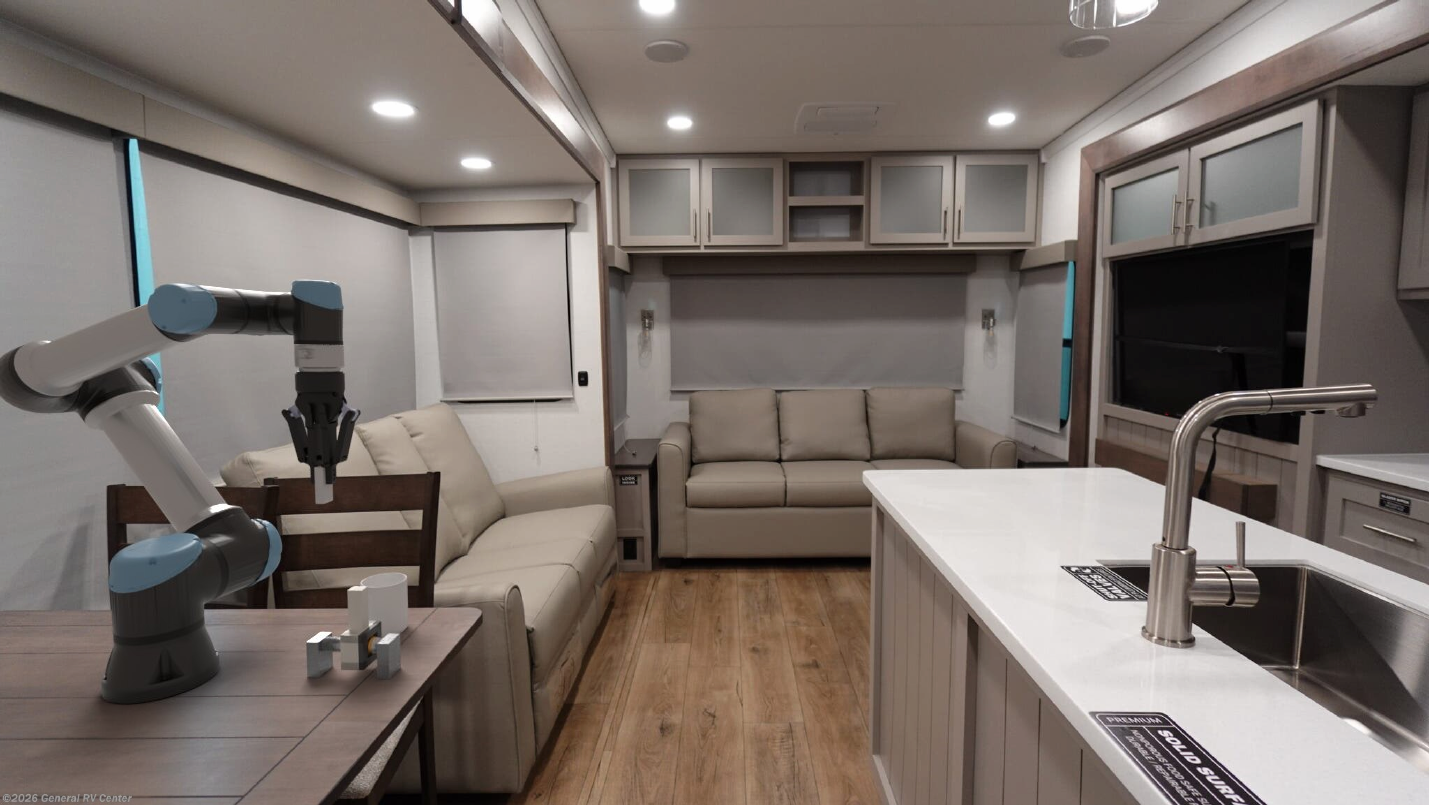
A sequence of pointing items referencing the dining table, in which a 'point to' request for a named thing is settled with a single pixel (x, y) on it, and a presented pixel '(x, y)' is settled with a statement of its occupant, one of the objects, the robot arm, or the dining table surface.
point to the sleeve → (358, 631)
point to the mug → (388, 601)
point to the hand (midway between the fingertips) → (324, 502)
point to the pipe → (325, 645)
